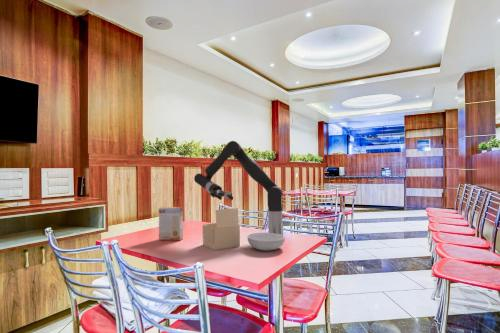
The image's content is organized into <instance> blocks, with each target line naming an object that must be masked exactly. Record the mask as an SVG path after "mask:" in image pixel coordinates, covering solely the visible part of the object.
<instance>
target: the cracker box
mask: <svg viewBox="0 0 500 333" xmlns="http://www.w3.org/2000/svg"><path fill="white" fill-rule="evenodd" d="M183 210H184V209H183V206H162V207H159V208H158V241H160V242H161V241H169V242H170V241H176V242H179V241H181V240H183V239H184V226H183V225H184V223H183V222H184V219H183V217H184V214H183Z"/></svg>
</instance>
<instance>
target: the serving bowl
mask: <svg viewBox="0 0 500 333" xmlns="http://www.w3.org/2000/svg"><path fill="white" fill-rule="evenodd" d="M285 239H286V238H285V236H284V234H283V235H280V234H275V233H269V232H256V233H255V232H254V233H250V234H249V235H247V241H248V244H249V245H250V246H251V247H252V248H254V249H257V250H259V251H264V252H266V251H267V252H269V251H273V250H277V249H279V248H281V247H282V246H283V245H284V242H285Z"/></svg>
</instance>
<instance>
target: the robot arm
mask: <svg viewBox="0 0 500 333" xmlns="http://www.w3.org/2000/svg"><path fill="white" fill-rule="evenodd" d="M230 157H234V158H235V159H236V160H237V161H238V162H239V163H240V164H241V166H242V168H243V170H245V172H246V173H247V174H248V175H249V176H250V178H252V179H253V180H254V181H255V182H256V183H257V184H259V185H260V186H261V187H262V188H263V189H264V190H265V191H266V192H267V194H266V195H267V208H268V210H267V212H268V215H267V216H268V221H267V223H268V233H275V234H280V235H283V236H284V221H283V205H282V204H283V203H282V196H283V190H282V188H281V187H279V186H278V185H277V184H276V183H275V182H274V181H273V180H272V179H271V178H270V177H269V176H268V175H267V173H266V172H265V170H263V169H262V167H261V166H260V165H259V164H258V163H257V162H256V161H255V159H253V158H251V156H249V155H248V154H247V153H246V151H245V150H244V149H243V148H242V145H241V144H240V143H239V142H237V141H235V140H231V141H229V142H227V144H226V146H225V147H224V148H223V149H222V151H221V152H220V153H219V154H218V156H217V157H215V159H214V160H213V161H212V162H211V163H210V164H209V165H208V166H206V168H205V169H204V172H205V173H206V175H204V174H203V173H196V174H195V175H194V178H193V180H194V182H195V183H196V184H197V185H199V186H200V187H202V188H203V189H204V190H205V191H206V192H207V193H208V195H209V196H210V197H212V198H216V199H218V200H220V201H222V199H223V198H228V199H229V200H230V201H234V200H233V199H234V196H233V193H232V192H230V191H229V190H226V191H225V190H223V188H222V186H220V185H219V184H217V183H216V182H214V181H212V179H213V177H214V175H216V173H217V172H219V170H220V169H221V168H222V167H223V165H224V164H225V162H226V161H227V160H228V159H230Z"/></svg>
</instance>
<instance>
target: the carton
mask: <svg viewBox="0 0 500 333" xmlns="http://www.w3.org/2000/svg"><path fill="white" fill-rule="evenodd" d="M240 226H241V225H240V224H239V225H238V226H231V227H224V228H216V222H211V223H205V224H202V244H203V246H205V247H206V248H208V249H210V250H212V251H214V252H217V251H222V250H226V249H227V250H228V249H233V248H238V247H240V246H241V240H240V239H241V237H240V236H241V232H240V230H241V228H240Z"/></svg>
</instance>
